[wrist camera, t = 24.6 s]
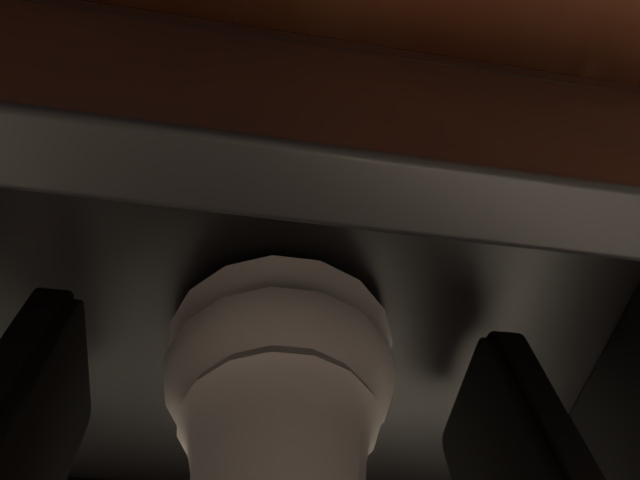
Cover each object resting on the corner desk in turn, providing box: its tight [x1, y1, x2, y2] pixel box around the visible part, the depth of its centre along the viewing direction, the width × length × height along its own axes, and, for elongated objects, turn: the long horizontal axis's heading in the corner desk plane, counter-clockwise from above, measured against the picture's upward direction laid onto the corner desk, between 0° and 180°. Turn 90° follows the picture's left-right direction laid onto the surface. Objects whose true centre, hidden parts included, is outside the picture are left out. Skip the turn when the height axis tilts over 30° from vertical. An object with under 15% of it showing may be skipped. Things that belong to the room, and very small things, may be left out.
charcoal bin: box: [0, 0, 640, 480], centre depth 10 cm, size 16×12×5 cm
